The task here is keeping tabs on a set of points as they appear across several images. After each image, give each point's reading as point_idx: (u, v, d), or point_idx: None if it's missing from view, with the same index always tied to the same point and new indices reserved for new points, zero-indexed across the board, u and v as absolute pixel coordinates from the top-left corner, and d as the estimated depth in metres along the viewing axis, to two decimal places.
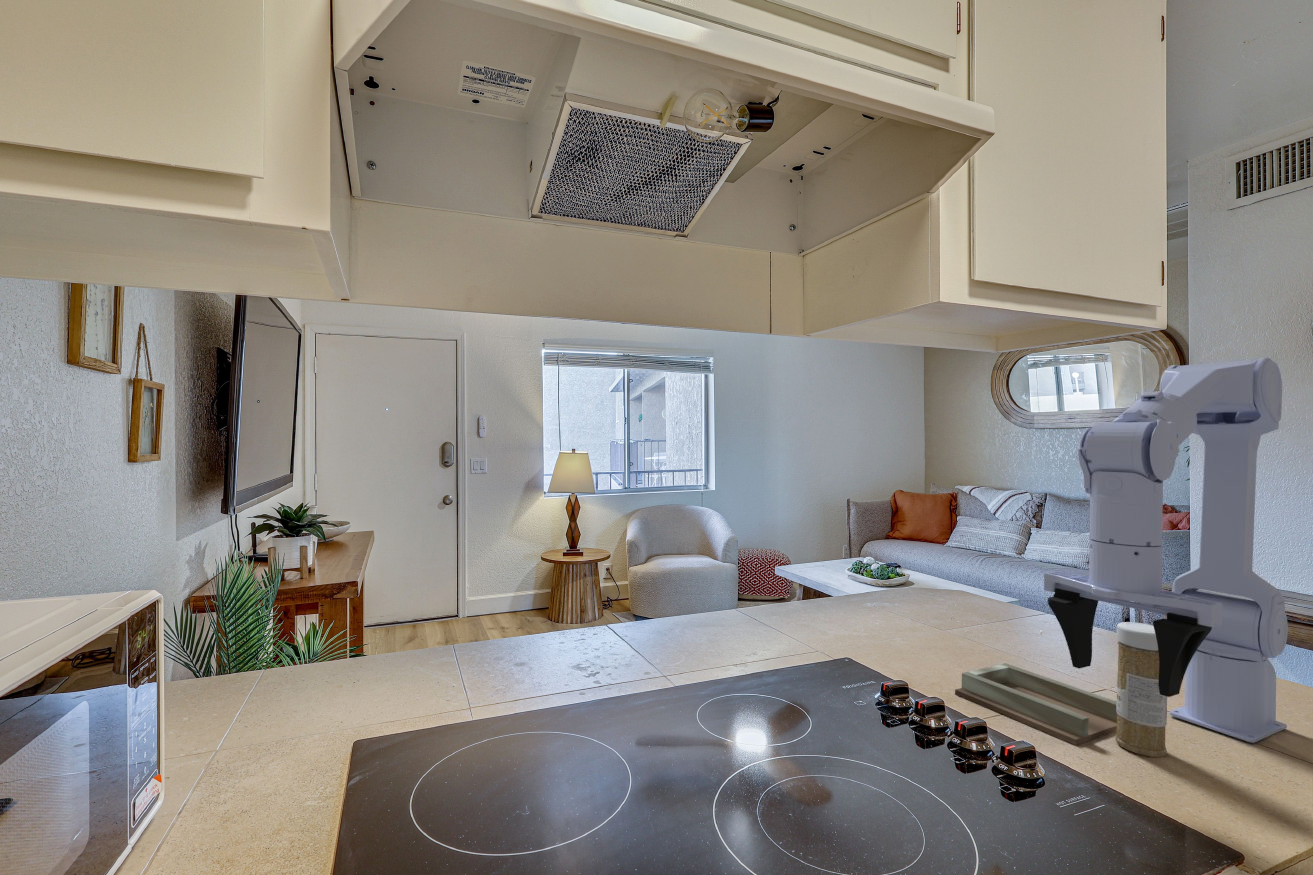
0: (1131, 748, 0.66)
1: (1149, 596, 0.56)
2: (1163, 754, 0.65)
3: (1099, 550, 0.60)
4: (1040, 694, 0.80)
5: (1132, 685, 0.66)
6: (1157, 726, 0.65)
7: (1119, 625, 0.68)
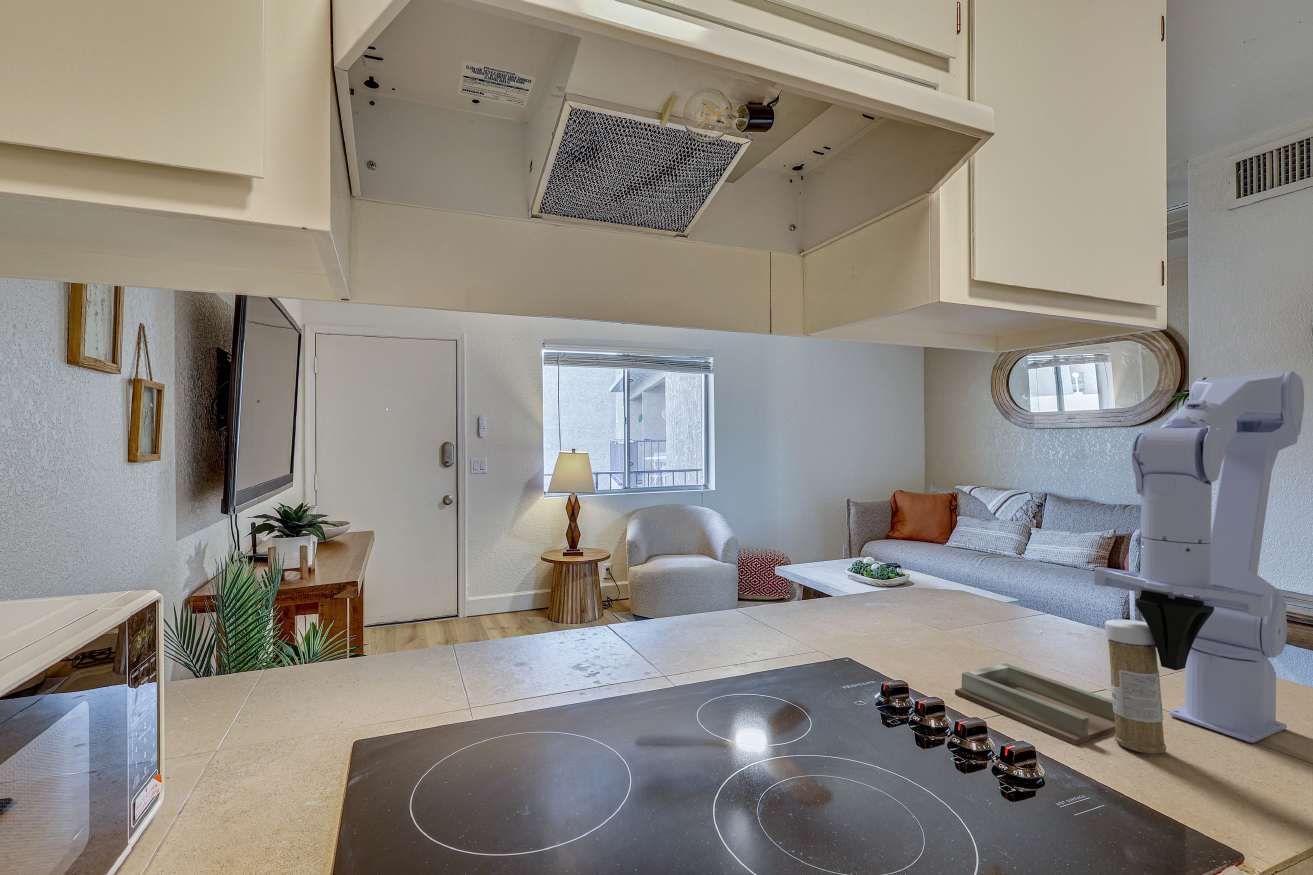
0: (1130, 746, 0.66)
1: (1201, 589, 0.61)
2: (1162, 750, 0.65)
3: (1151, 547, 0.64)
4: (1040, 694, 0.80)
5: (1125, 682, 0.66)
6: (1154, 721, 0.65)
7: (1107, 622, 0.69)
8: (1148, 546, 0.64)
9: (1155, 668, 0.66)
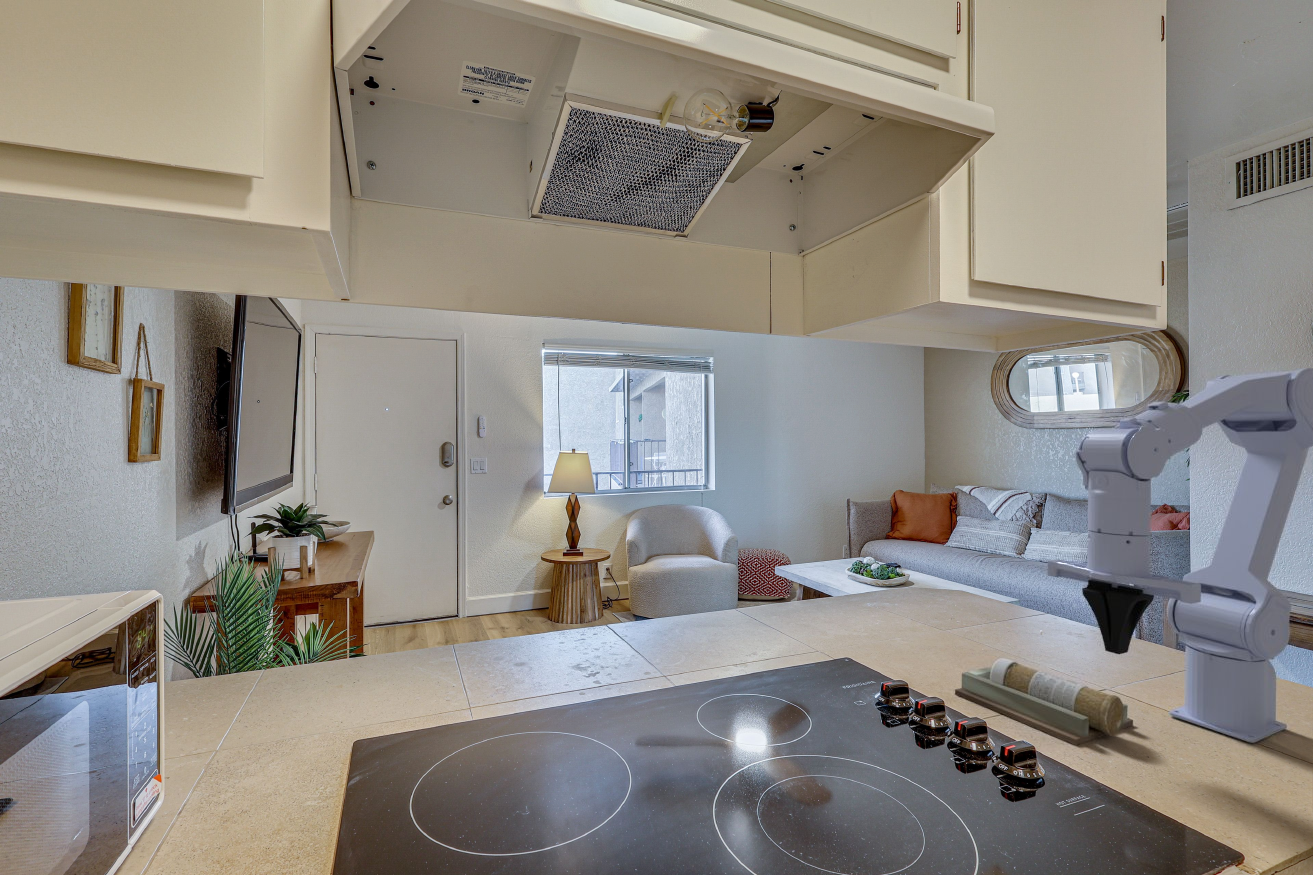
0: (1102, 719, 0.68)
1: (1139, 578, 0.65)
2: (1111, 696, 0.69)
3: (1096, 539, 0.69)
4: None
5: (1038, 696, 0.74)
6: (1078, 690, 0.71)
7: None
8: (1093, 539, 0.69)
9: (1033, 670, 0.76)
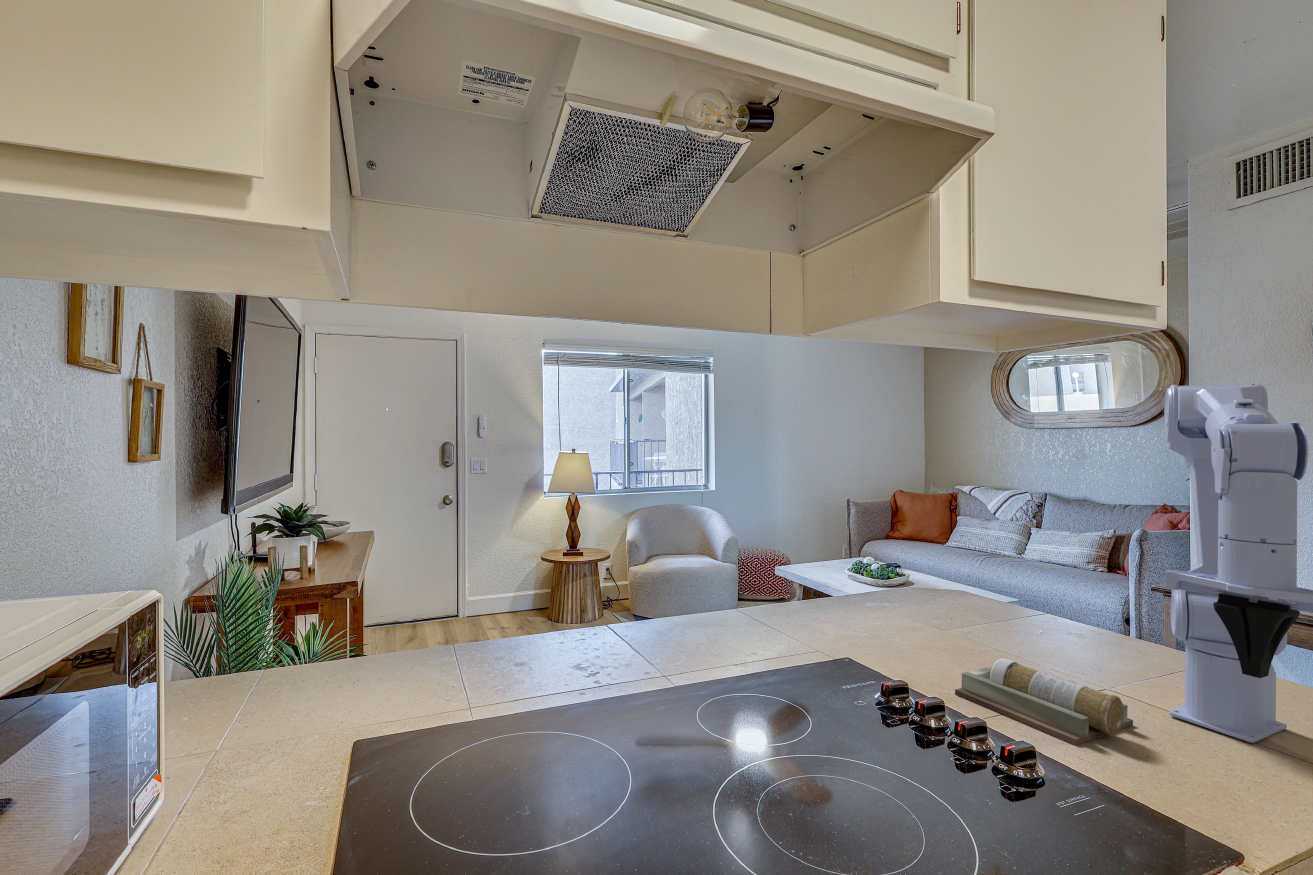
0: (1102, 719, 0.68)
1: (1289, 592, 0.58)
2: (1111, 696, 0.69)
3: (1232, 548, 0.61)
4: None
5: (1038, 696, 0.74)
6: (1078, 690, 0.71)
7: None
8: (1228, 547, 0.62)
9: (1033, 670, 0.76)
